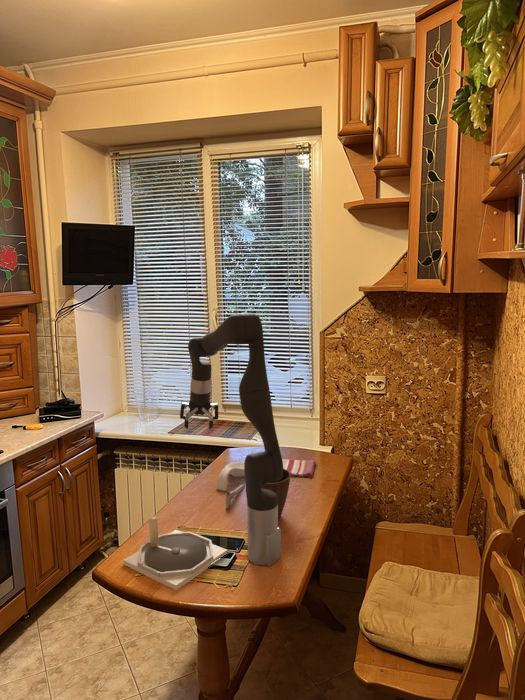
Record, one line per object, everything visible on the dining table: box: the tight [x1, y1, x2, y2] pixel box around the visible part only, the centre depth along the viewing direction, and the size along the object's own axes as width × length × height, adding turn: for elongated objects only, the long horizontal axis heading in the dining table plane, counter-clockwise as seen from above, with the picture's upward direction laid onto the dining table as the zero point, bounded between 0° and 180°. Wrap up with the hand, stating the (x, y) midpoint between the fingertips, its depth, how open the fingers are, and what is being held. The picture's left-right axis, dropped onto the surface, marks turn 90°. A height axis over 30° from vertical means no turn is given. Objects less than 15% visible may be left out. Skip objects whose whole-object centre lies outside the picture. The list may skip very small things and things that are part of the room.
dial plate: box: [122, 529, 228, 591], centre depth 157 cm, size 22×22×3 cm
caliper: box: [225, 484, 245, 509], centre depth 199 cm, size 20×1×6 cm, turn 165°
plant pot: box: [261, 469, 291, 521], centre depth 181 cm, size 15×15×16 cm
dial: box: [145, 515, 207, 572], centre depth 156 cm, size 19×19×10 cm
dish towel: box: [282, 458, 316, 478], centre depth 226 cm, size 17×23×3 cm
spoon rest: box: [215, 461, 245, 492], centre depth 215 cm, size 24×12×7 cm, turn 158°
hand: (198, 428), depth 196 cm, fingers open, 8 cm apart
